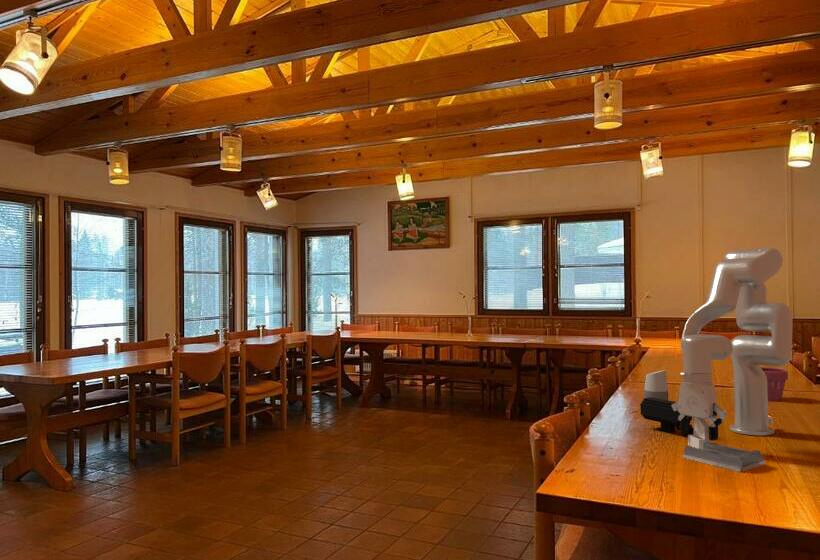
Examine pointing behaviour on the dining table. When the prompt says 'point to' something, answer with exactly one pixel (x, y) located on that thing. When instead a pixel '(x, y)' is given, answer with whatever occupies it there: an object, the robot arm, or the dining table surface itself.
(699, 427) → the white wedge bracket
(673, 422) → the security camera
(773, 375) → the plant pot
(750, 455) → the rail board
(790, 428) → the dining table surface
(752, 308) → the robot arm
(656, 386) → the smart speaker
